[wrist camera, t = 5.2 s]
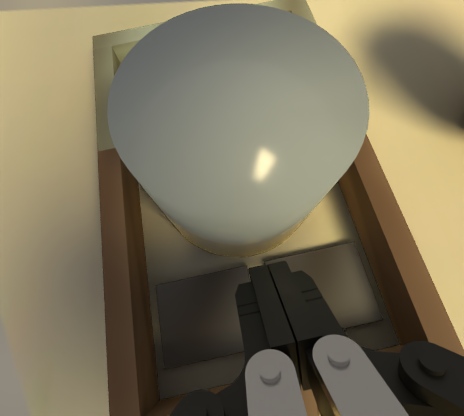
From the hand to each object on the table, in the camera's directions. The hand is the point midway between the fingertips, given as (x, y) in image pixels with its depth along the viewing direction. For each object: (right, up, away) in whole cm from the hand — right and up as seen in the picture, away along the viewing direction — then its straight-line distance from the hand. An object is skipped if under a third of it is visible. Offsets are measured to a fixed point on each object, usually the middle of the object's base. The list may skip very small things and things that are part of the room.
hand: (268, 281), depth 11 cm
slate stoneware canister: (-1, +4, +6) cm, 7 cm away
